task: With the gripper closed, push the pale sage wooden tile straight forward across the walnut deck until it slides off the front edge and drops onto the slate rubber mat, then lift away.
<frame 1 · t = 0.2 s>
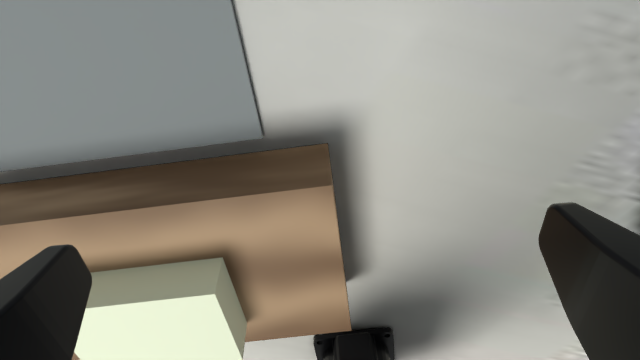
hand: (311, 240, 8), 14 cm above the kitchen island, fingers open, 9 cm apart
walnut deck: (172, 241, 27), on the kitchen island
slate mat: (87, 56, 20), on the kitchen island
sage tile: (161, 300, 25), point 4 cm above the kitchen island, touching walnut deck
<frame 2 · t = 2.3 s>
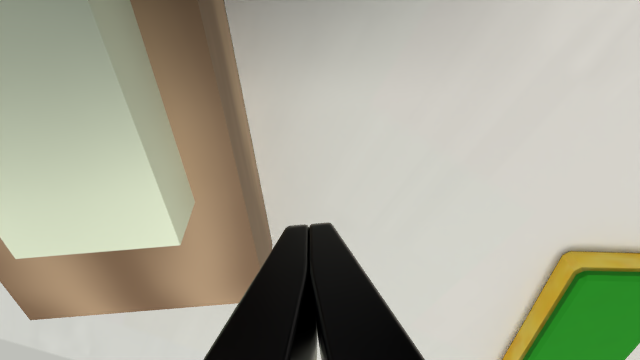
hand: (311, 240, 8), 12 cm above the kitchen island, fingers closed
walnut deck: (94, 69, 18), on the kitchen island
dish sponge: (567, 314, 30), on the kitchen island
sage tile: (76, 107, 14), point 4 cm above the kitchen island, touching walnut deck
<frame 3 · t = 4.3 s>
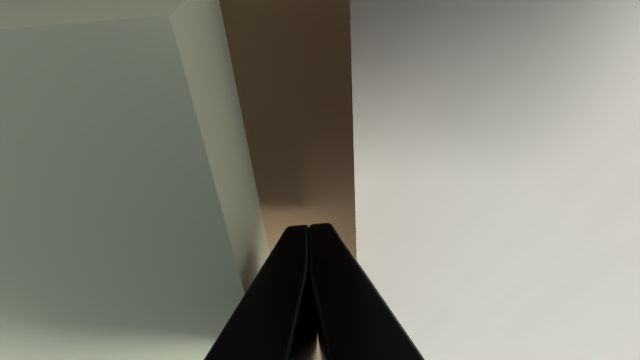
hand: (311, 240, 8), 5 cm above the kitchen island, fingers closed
walnut deck: (135, 130, 12), on the kitchen island
sage tile: (120, 217, 9), point 4 cm above the kitchen island, touching gripper
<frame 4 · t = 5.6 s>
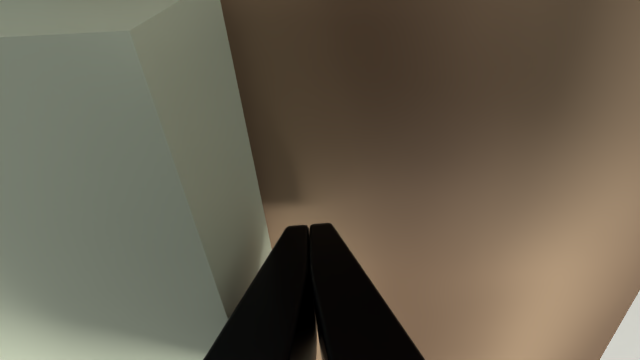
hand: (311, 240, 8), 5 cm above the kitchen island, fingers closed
walnut deck: (390, 108, 12), on the kitchen island
sage tile: (130, 215, 9), point 4 cm above the kitchen island, tilted 9°, touching walnut deck
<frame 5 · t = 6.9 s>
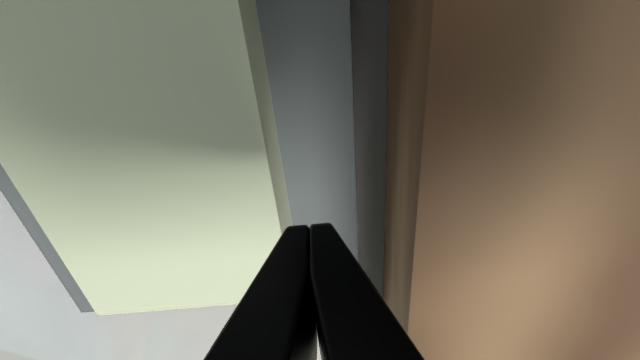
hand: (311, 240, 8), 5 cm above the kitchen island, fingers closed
walnut deck: (595, 92, 12), on the kitchen island
slate mat: (165, 129, 12), on the kitchen island
sage tile: (146, 188, 10), point 3 cm above the kitchen island, tilted 180°, touching slate mat
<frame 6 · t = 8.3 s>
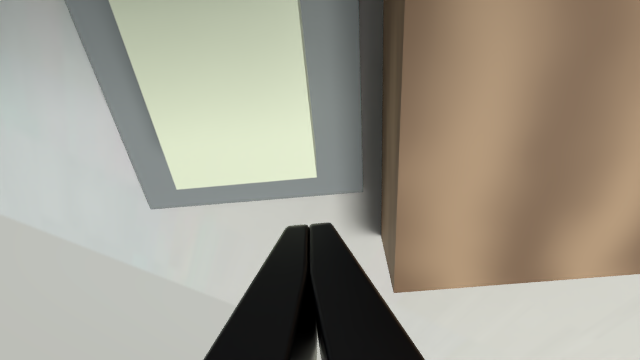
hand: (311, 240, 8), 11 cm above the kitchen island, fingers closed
walnut deck: (529, 27, 17), on the kitchen island
slate mat: (226, 55, 17), on the kitchen island
sage tile: (223, 83, 15), point 3 cm above the kitchen island, tilted 180°, touching slate mat
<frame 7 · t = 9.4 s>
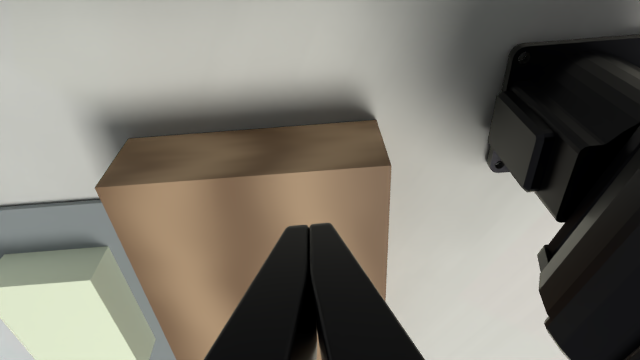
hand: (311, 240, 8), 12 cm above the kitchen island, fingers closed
walnut deck: (279, 281, 26), on the kitchen island
slate mat: (84, 296, 26), on the kitchen island
sage tile: (69, 335, 24), point 3 cm above the kitchen island, tilted 180°, touching slate mat
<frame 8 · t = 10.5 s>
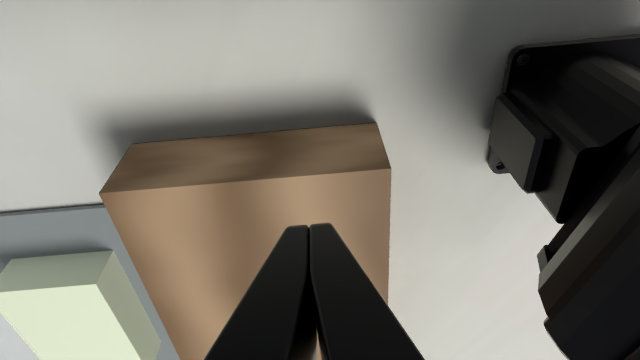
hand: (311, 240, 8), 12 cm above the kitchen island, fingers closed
walnut deck: (283, 284, 26), on the kitchen island
slate mat: (90, 299, 27), on the kitchen island
sage tile: (76, 338, 24), point 3 cm above the kitchen island, tilted 180°, touching slate mat
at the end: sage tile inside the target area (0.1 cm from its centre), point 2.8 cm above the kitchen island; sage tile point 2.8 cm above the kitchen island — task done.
